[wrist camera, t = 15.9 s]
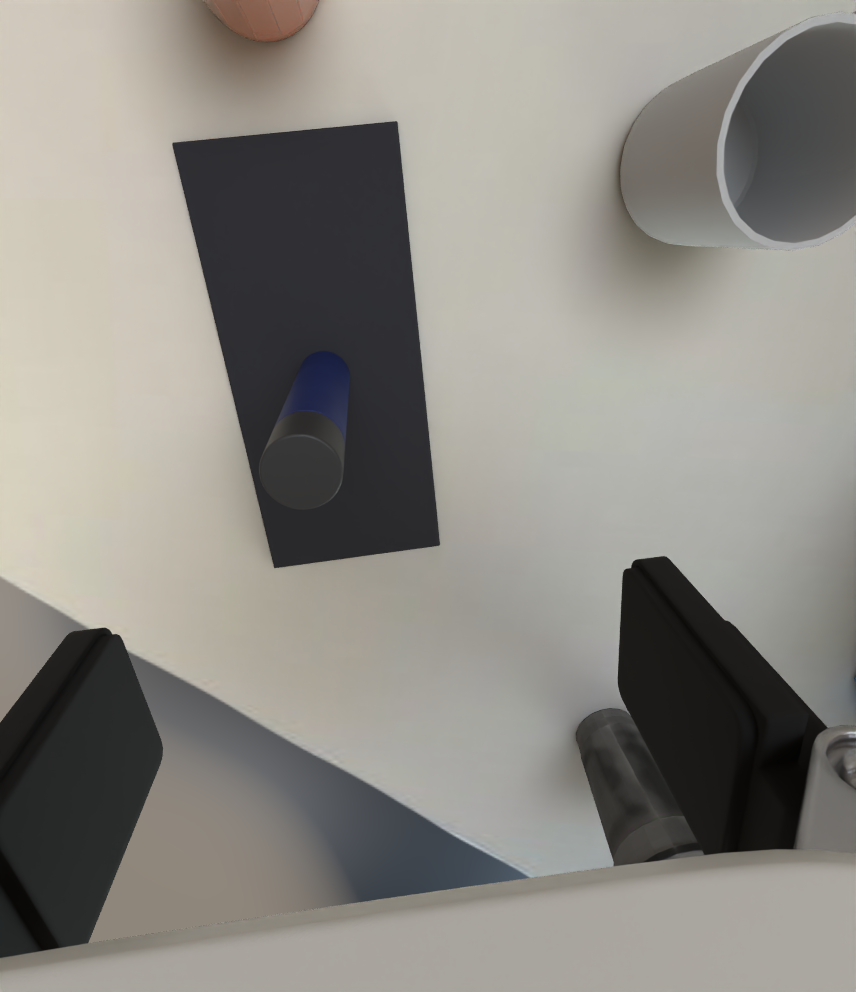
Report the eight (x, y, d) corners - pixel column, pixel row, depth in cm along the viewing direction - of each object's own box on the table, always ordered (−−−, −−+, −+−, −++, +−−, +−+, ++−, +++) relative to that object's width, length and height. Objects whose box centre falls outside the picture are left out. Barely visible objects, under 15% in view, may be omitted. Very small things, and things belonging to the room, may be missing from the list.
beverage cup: (542, 758, 45) (667, 1119, 27) (583, 685, 42) (754, 1029, 24) (624, 773, 46) (795, 1122, 28) (669, 704, 44) (889, 1039, 26)
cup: (585, 170, 28) (675, 146, 20) (751, -20, 26) (927, -133, 18) (674, 276, 31) (785, 292, 23) (832, 112, 29) (1020, 65, 20)
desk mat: (396, 122, 27) (397, 121, 26) (439, 542, 36) (440, 545, 36) (174, 143, 26) (171, 142, 26) (275, 565, 35) (274, 568, 35)
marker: (345, 347, 30) (335, 428, 18) (353, 396, 31) (348, 504, 19) (295, 353, 30) (250, 439, 18) (304, 403, 31) (268, 515, 19)
